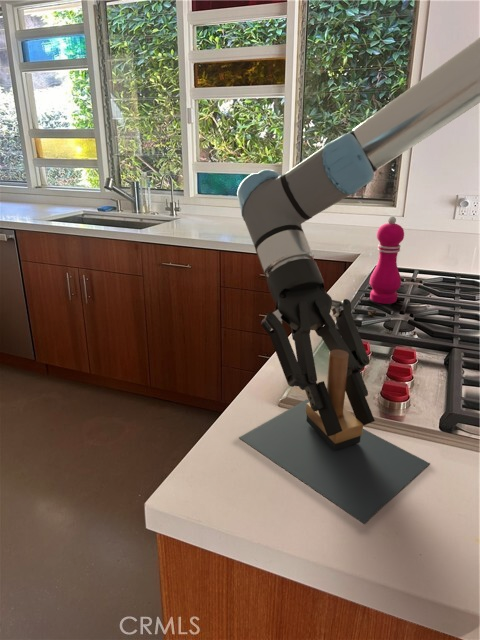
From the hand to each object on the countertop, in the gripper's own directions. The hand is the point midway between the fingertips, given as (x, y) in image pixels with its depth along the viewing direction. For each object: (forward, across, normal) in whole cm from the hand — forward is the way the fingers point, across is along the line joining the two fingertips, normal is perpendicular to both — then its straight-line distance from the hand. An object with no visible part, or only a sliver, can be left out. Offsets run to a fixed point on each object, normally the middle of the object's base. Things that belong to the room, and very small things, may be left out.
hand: (351, 428), depth 59 cm
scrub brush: (-1, 0, -5) cm, 5 cm away
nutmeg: (-23, -34, -29) cm, 51 cm away
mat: (+2, +2, -3) cm, 4 cm away
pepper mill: (-28, -42, -34) cm, 61 cm away
